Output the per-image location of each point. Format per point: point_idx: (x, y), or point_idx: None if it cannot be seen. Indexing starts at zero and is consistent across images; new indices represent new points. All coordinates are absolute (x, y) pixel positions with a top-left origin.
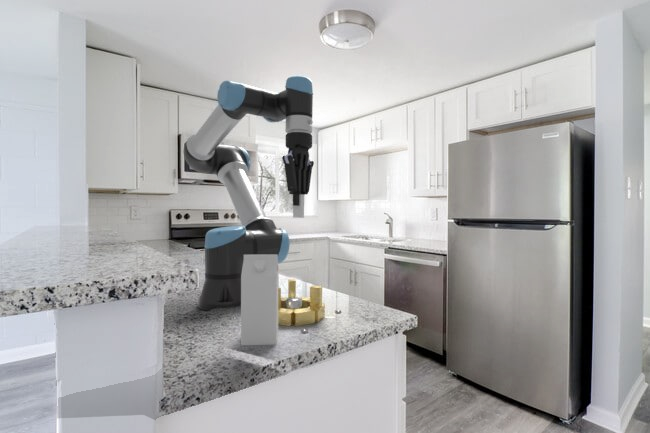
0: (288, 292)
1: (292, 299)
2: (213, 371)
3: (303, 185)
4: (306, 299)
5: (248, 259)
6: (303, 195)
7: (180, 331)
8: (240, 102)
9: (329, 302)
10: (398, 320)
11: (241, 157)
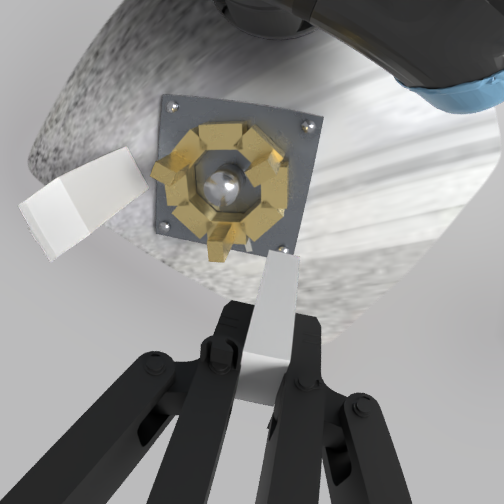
0: (262, 157)
1: (216, 188)
2: (55, 173)
3: (262, 465)
4: (269, 198)
5: (27, 209)
6: (264, 399)
7: (110, 36)
8: None
9: (381, 207)
10: None
11: None
